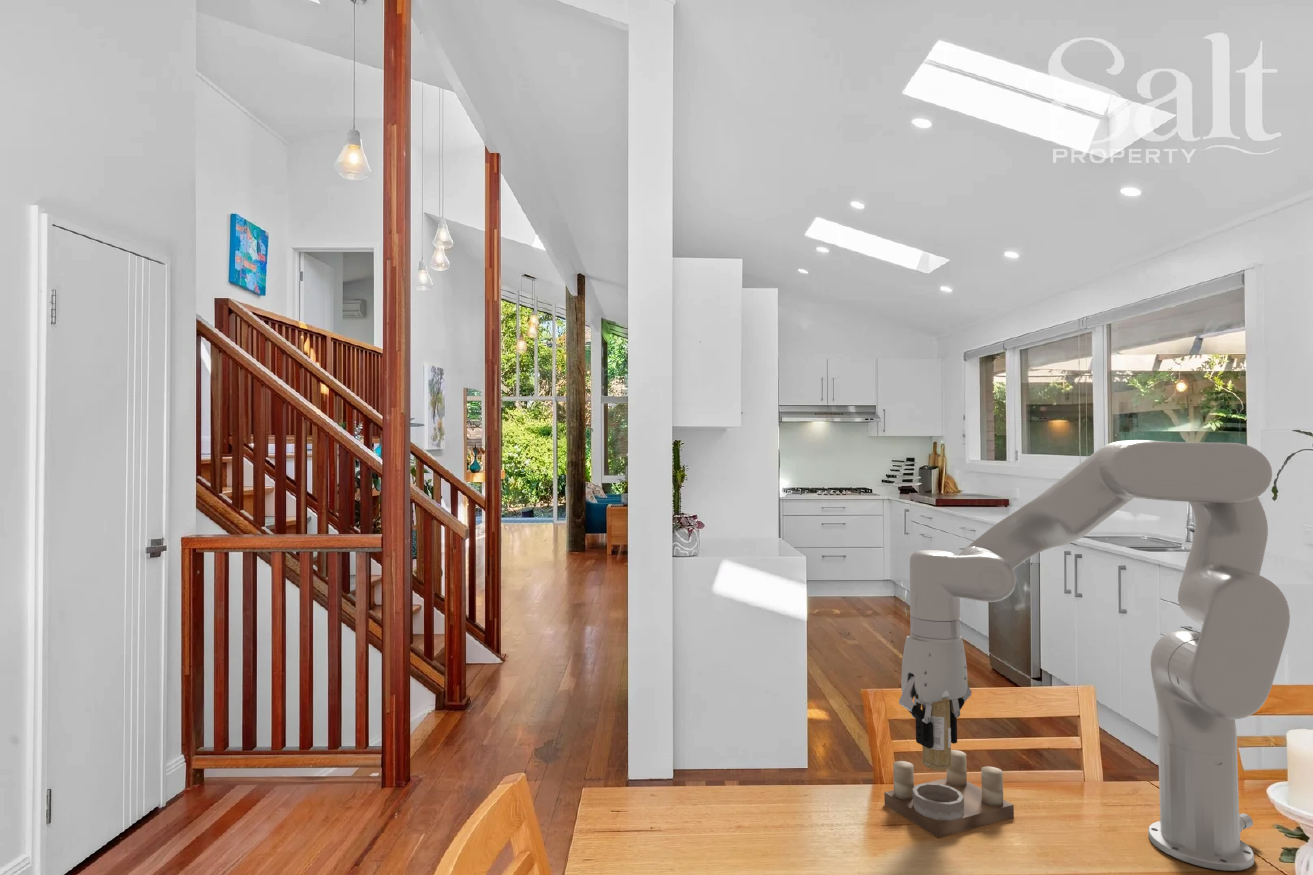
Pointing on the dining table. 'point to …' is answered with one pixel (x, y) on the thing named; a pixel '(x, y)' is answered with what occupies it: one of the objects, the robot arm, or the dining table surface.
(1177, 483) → the robot arm
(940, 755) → the sprinkles bottle
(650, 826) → the dining table surface
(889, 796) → the bottle holder base
